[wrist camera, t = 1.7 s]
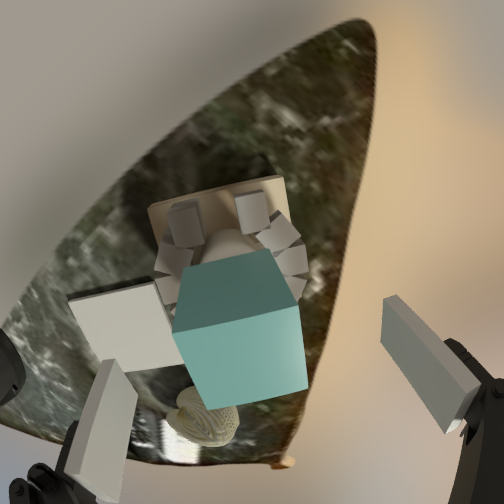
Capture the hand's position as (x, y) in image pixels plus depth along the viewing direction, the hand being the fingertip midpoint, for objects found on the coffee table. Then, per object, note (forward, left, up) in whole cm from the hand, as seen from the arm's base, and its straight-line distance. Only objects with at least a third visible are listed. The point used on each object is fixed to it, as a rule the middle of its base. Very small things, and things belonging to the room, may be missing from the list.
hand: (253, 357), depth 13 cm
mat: (-13, -6, -14) cm, 20 cm away
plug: (0, 0, -12) cm, 12 cm away
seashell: (-9, -20, -15) cm, 26 cm away
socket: (0, 0, -14) cm, 14 cm away
